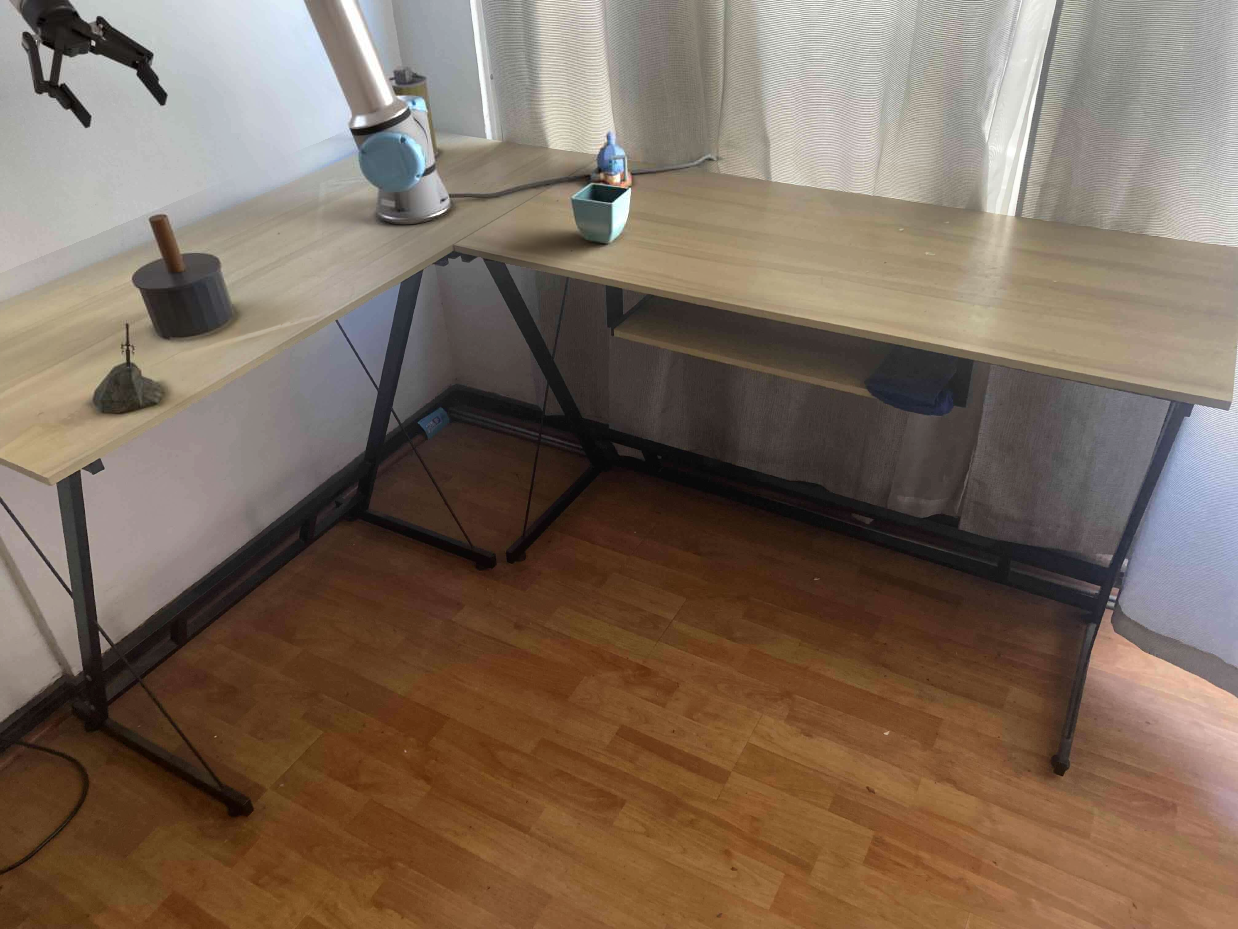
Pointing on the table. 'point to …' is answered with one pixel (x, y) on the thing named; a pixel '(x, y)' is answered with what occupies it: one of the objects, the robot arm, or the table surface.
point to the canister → (413, 92)
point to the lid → (173, 263)
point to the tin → (190, 308)
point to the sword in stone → (126, 387)
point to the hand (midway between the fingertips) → (127, 111)
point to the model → (611, 165)
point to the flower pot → (601, 211)
